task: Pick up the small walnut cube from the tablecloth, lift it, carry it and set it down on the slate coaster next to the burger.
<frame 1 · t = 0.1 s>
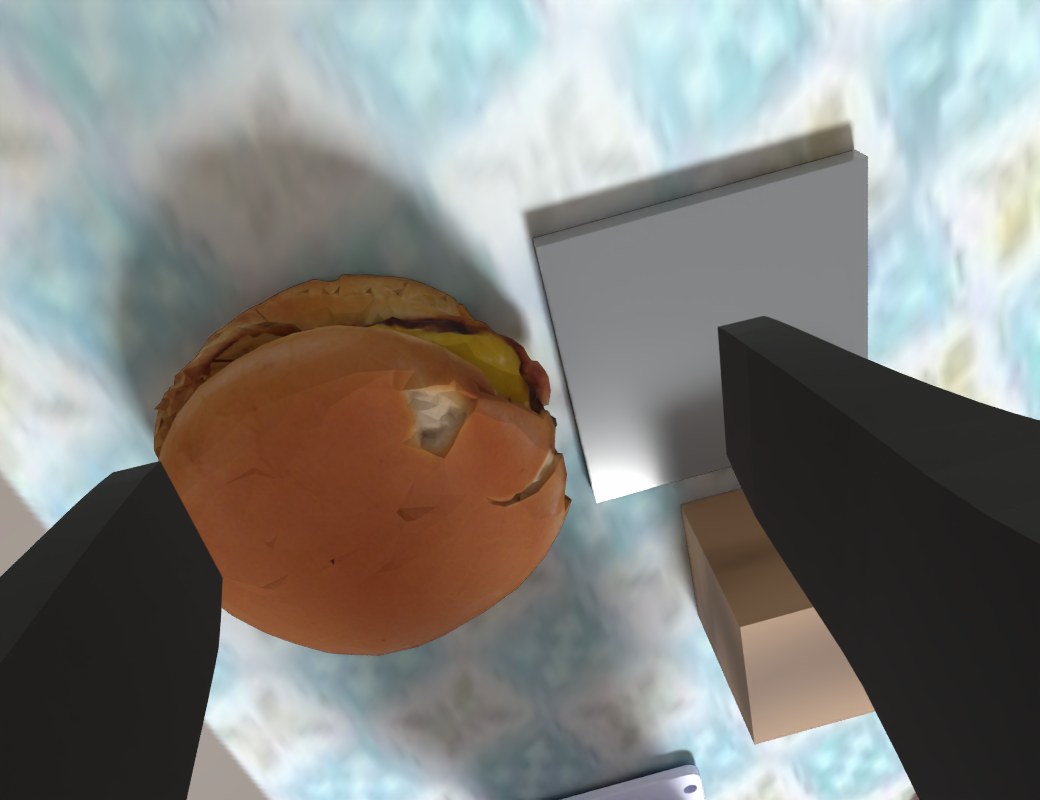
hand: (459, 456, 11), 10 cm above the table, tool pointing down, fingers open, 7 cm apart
slate coaster: (710, 336, 22), on the table
burger: (364, 423, 23), on the table
walnut cube: (765, 540, 27), on the table
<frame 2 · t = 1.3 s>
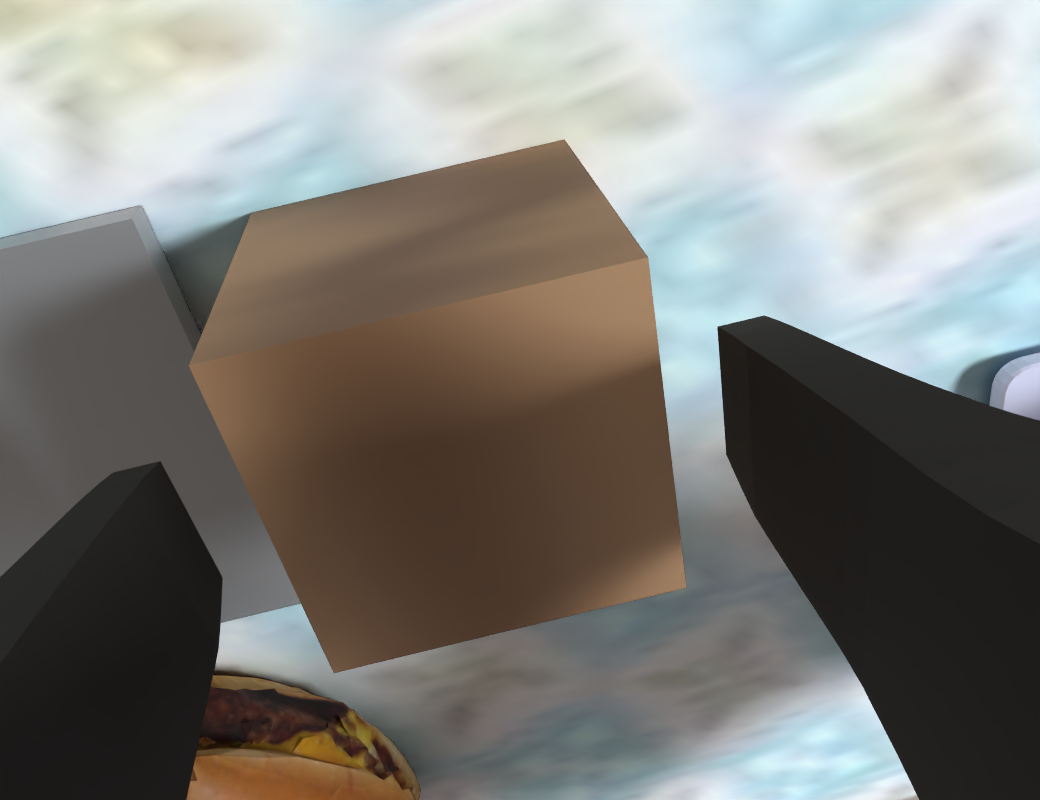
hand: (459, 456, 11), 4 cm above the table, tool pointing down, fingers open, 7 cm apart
slate coaster: (17, 472, 15), on the table
burger: (227, 771, 20), on the table
walnut cube: (445, 314, 14), on the table
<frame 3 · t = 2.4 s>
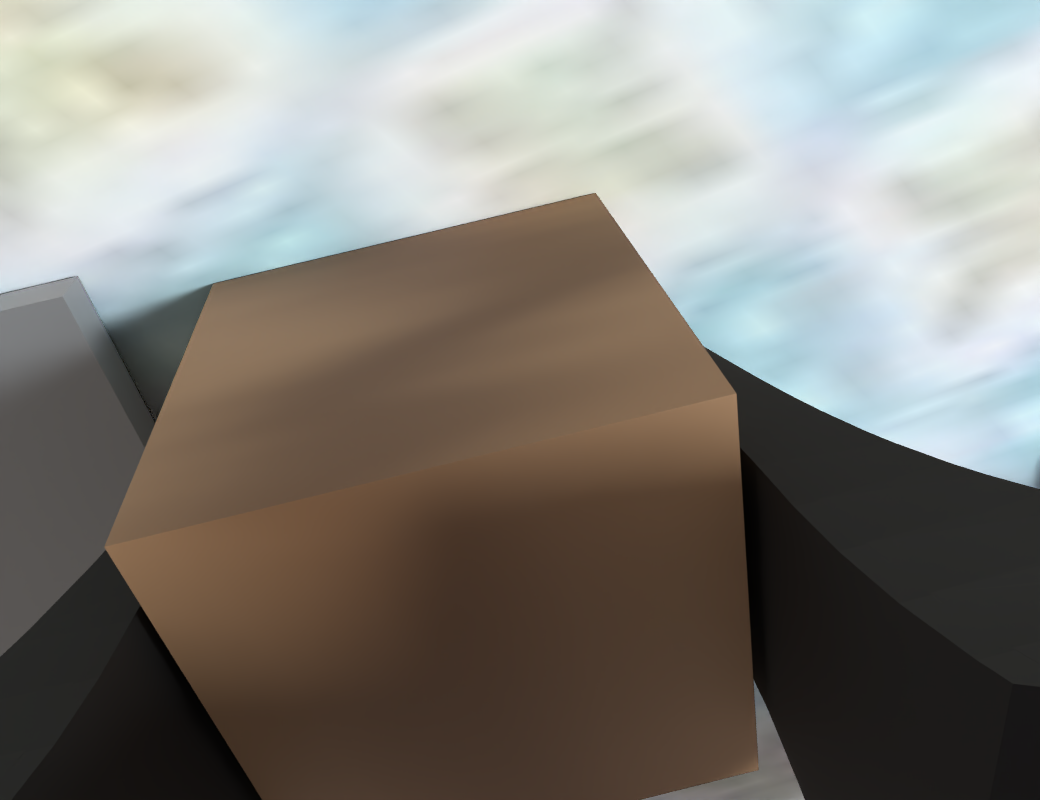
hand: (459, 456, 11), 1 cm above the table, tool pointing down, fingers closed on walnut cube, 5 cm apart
walnut cube: (450, 399, 12), on the table, touching gripper
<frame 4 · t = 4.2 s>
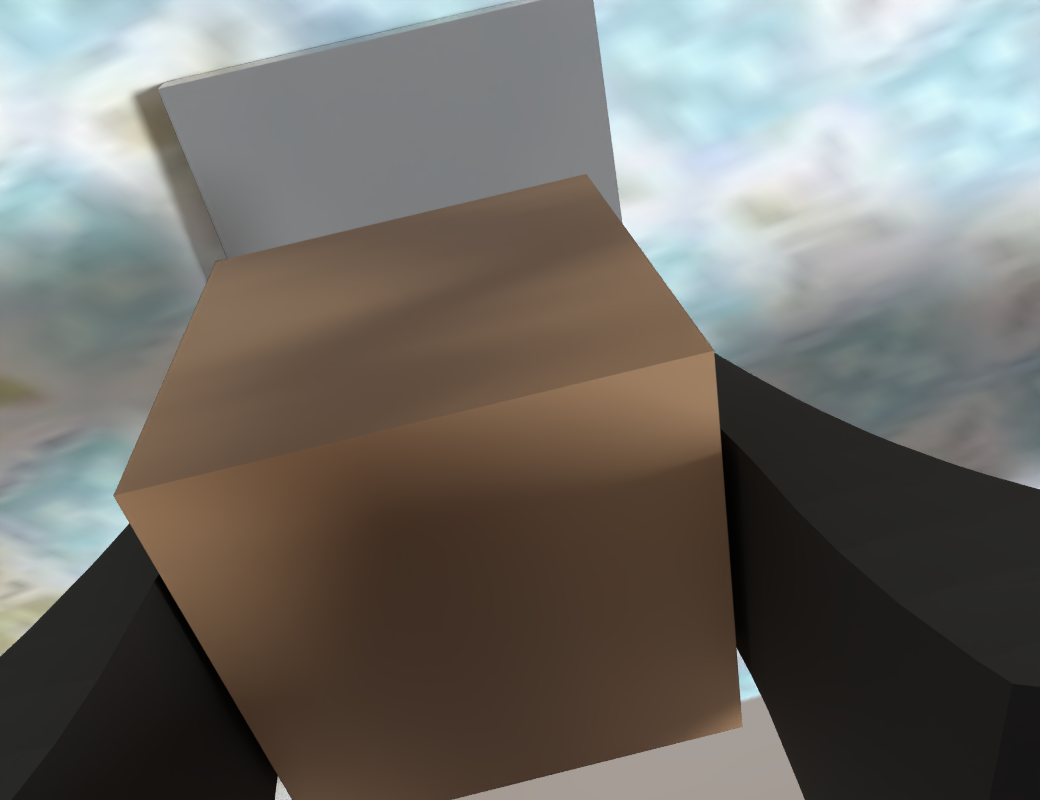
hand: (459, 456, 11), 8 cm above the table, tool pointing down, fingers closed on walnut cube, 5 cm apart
slate coaster: (428, 233, 18), on the table
walnut cube: (446, 376, 12), point 6 cm above the table, touching gripper
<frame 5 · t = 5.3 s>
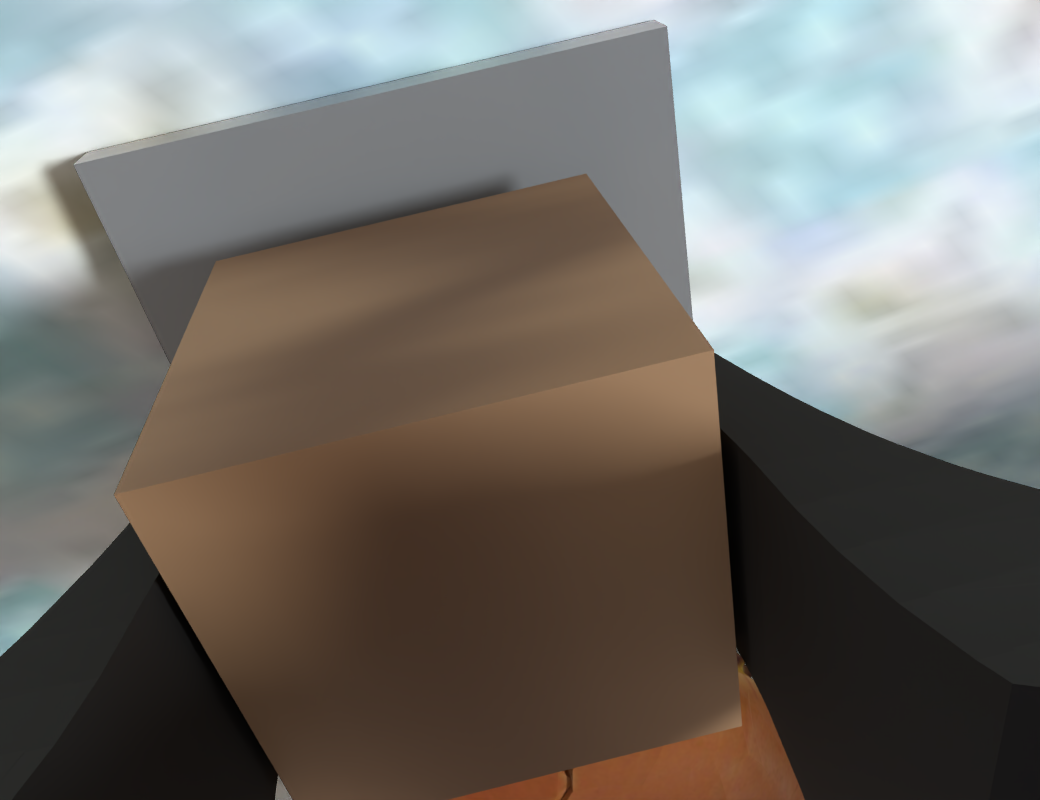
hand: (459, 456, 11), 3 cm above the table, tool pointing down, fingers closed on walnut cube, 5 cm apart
slate coaster: (441, 336, 14), on the table
burger: (540, 695, 19), on the table
walnut cube: (446, 376, 12), point 1 cm above the table, touching gripper
when the fingers open (3 cm above the table, at t = 5.9 s): walnut cube stays where it is, resting on slate coaster.
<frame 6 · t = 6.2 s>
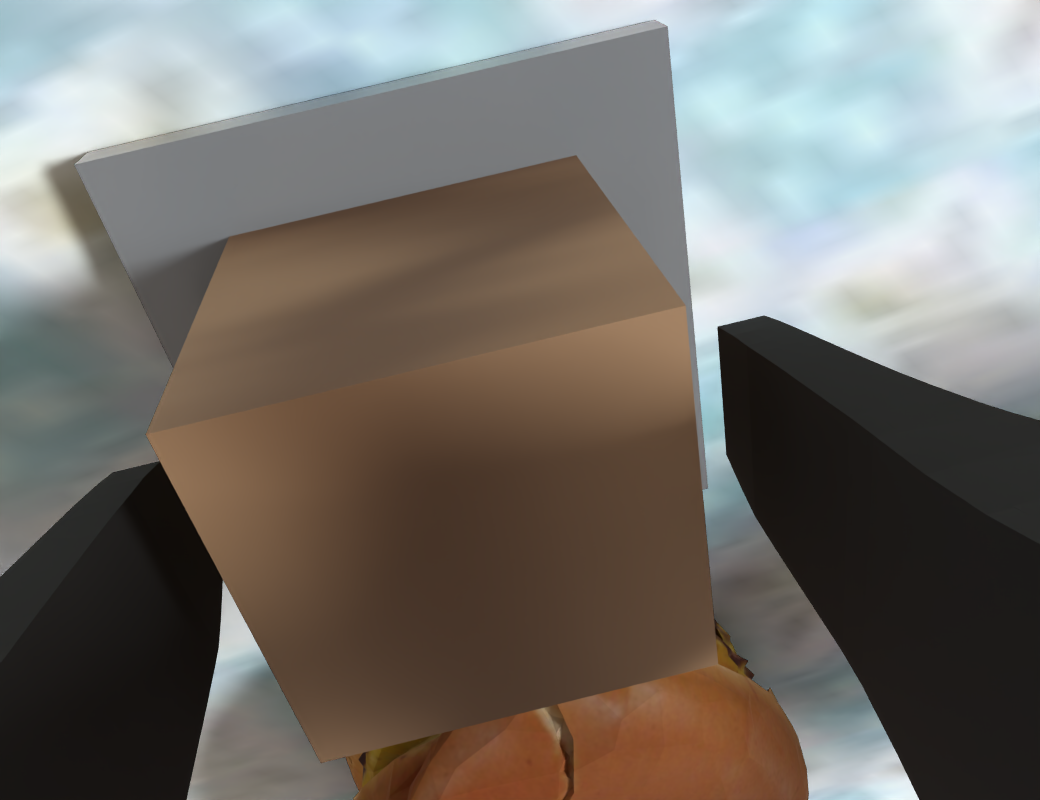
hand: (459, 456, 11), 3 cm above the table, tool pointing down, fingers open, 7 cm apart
slate coaster: (442, 336, 14), on the table
burger: (541, 697, 19), on the table
walnut cube: (445, 347, 13), point 1 cm above the table, touching slate coaster
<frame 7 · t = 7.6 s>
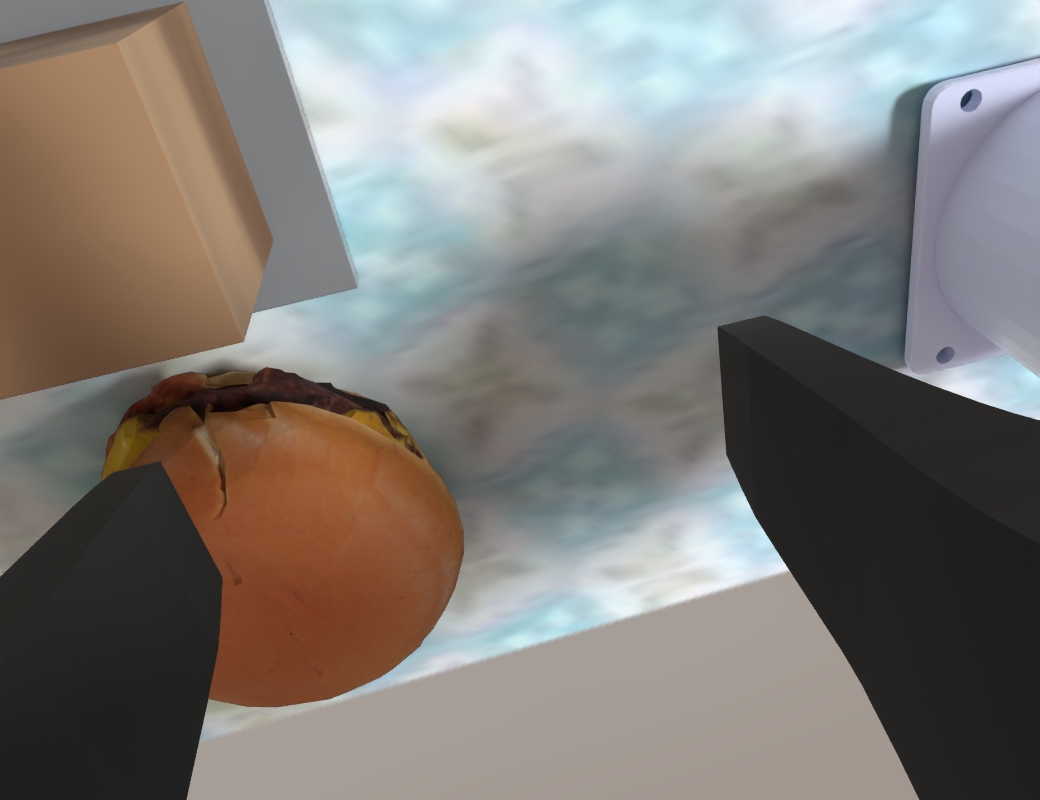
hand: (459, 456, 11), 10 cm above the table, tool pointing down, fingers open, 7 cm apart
slate coaster: (123, 154, 18), on the table
burger: (281, 493, 24), on the table
walnut cube: (115, 156, 18), point 1 cm above the table, touching slate coaster
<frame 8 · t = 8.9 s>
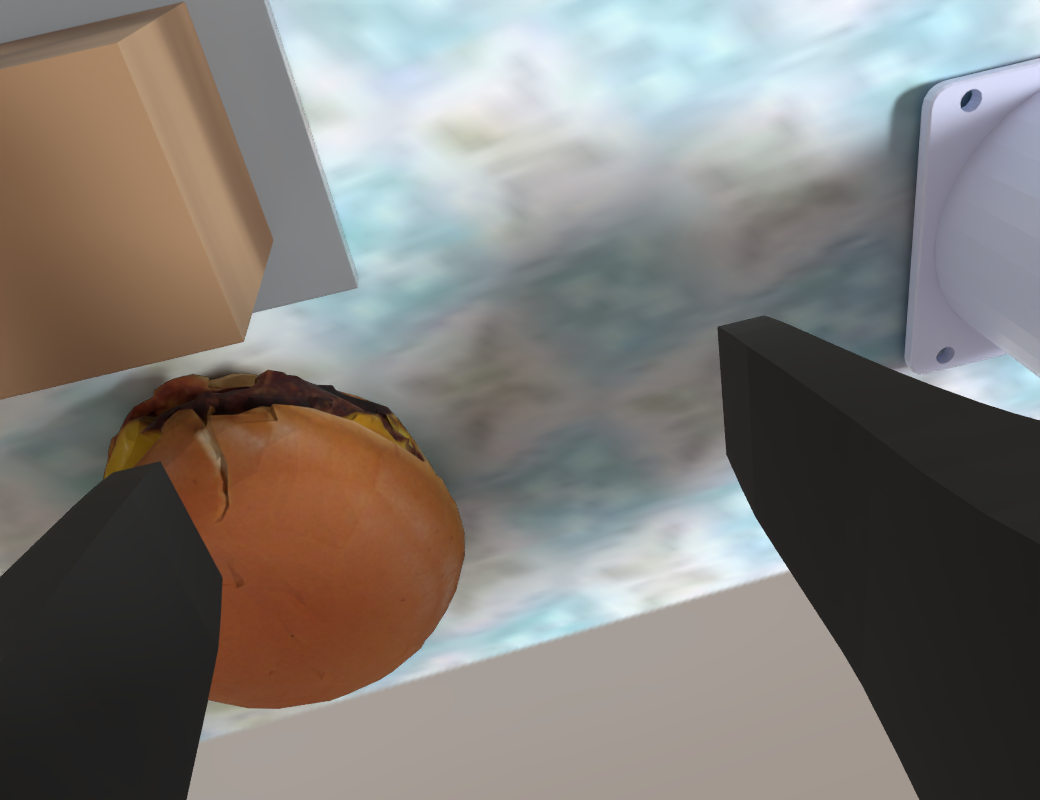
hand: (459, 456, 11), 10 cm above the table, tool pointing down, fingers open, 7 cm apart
slate coaster: (123, 154, 18), on the table
burger: (282, 495, 24), on the table
walnut cube: (115, 156, 18), point 1 cm above the table, touching slate coaster
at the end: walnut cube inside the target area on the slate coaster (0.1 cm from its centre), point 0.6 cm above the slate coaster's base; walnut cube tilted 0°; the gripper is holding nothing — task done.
